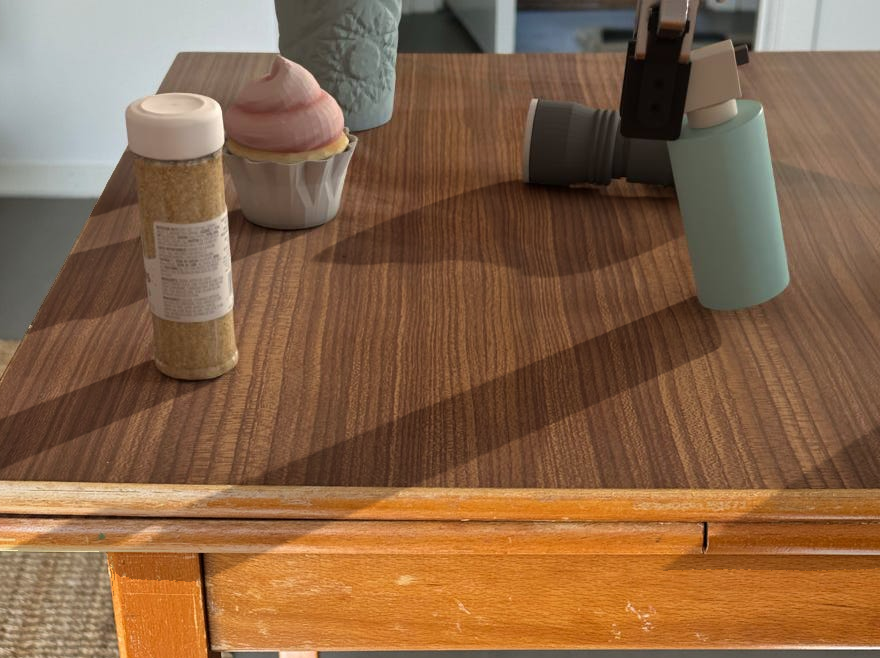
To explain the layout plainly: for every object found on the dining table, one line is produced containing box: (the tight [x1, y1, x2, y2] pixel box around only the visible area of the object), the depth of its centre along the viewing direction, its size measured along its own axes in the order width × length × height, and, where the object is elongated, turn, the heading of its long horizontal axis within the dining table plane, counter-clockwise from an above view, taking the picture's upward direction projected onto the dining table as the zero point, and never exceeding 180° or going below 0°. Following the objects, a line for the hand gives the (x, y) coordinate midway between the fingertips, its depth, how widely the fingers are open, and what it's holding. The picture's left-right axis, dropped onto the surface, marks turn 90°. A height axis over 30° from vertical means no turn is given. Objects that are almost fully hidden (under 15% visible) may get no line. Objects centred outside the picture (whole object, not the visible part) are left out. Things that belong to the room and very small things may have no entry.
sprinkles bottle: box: [124, 92, 240, 381], centre depth 66 cm, size 5×5×14 cm
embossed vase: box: [273, 0, 403, 133], centre depth 101 cm, size 10×10×12 cm
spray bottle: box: [667, 38, 791, 312], centre depth 73 cm, size 14×5×5 cm
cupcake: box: [222, 54, 359, 230], centre depth 85 cm, size 9×9×10 cm
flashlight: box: [521, 98, 676, 190], centre depth 90 cm, size 15×5×5 cm, turn 78°
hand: (648, 126), depth 72 cm, fingers closed, pressing on spray bottle
